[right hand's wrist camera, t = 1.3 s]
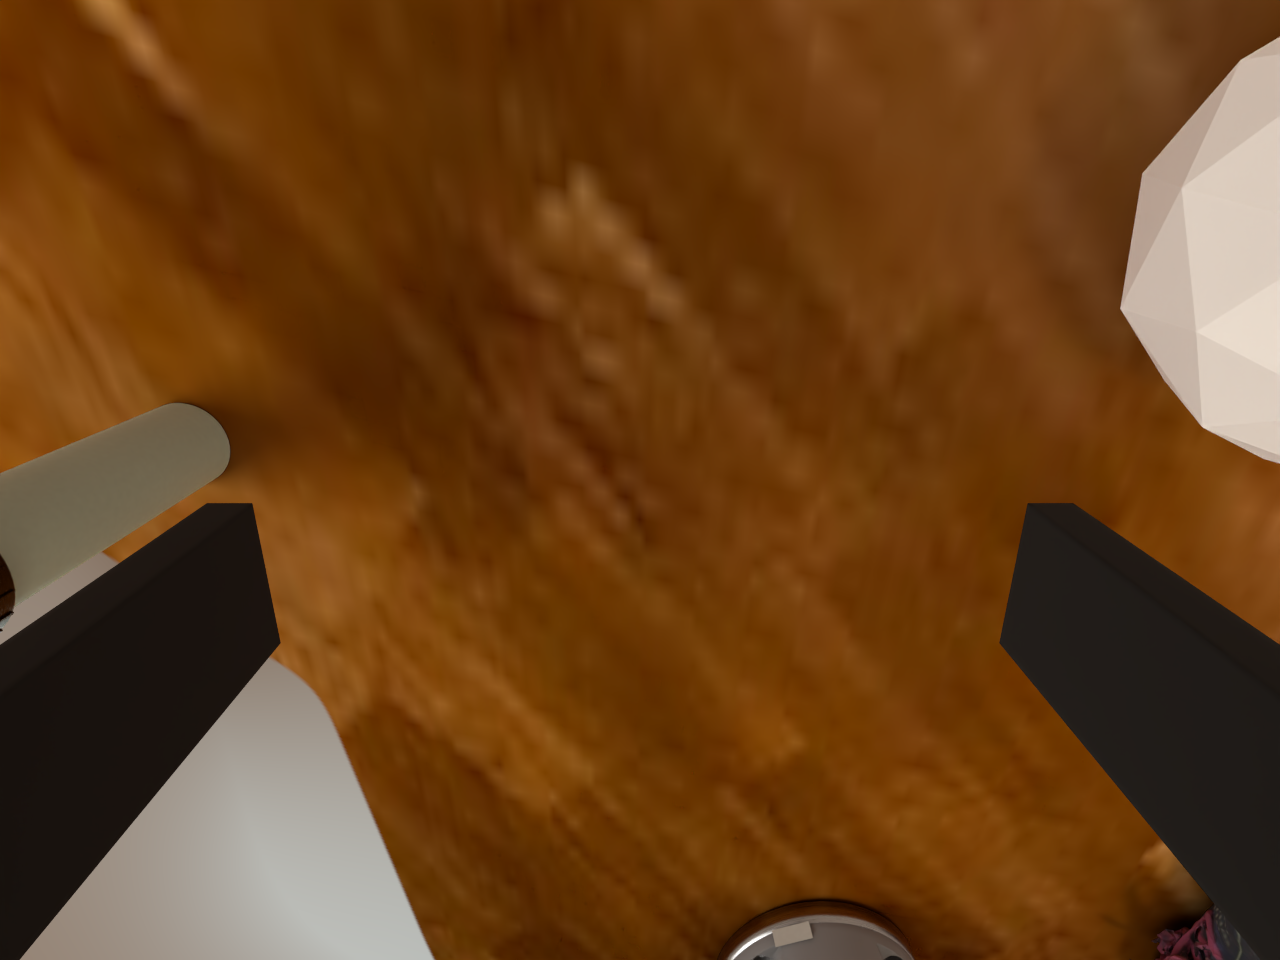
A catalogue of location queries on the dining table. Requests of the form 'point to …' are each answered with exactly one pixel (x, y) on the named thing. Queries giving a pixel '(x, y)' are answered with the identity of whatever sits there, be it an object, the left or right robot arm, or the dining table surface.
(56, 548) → the pale green capped tube
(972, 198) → the dining table surface
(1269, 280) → the sphere
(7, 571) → the lid
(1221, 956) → the athletic shoe
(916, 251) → the dining table surface
